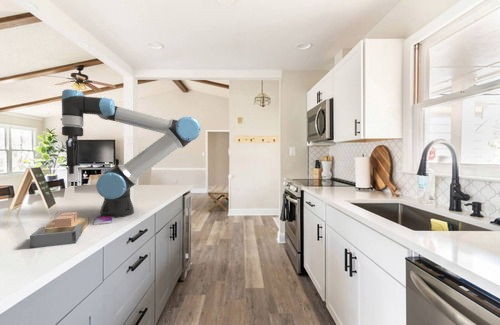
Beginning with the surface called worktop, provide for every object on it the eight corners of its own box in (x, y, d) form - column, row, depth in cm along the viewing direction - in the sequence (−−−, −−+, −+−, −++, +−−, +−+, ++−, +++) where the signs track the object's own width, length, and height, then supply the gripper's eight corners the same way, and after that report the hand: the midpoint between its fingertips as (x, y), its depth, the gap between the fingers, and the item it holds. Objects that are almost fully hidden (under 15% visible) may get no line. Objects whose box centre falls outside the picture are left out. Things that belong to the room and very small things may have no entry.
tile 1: (74, 222, 98) (74, 215, 98) (71, 225, 93) (71, 218, 93) (58, 224, 95) (58, 216, 95) (54, 227, 91) (54, 219, 91)
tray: (81, 233, 93) (81, 223, 93) (75, 243, 83) (75, 231, 83) (41, 237, 88) (41, 226, 88) (30, 248, 78) (29, 235, 78)
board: (87, 224, 106) (87, 217, 106) (81, 233, 94) (81, 225, 94) (53, 227, 101) (53, 219, 101) (41, 237, 89) (41, 229, 89)
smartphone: (92, 224, 105) (96, 216, 118) (92, 226, 105) (96, 218, 118) (111, 222, 108) (113, 214, 122) (111, 224, 108) (113, 216, 122)
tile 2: (77, 218, 103) (77, 211, 103) (74, 221, 99) (74, 214, 99) (62, 220, 101) (62, 212, 101) (59, 223, 97) (59, 215, 97)
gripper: (66, 128, 112) (66, 179, 113) (56, 124, 98) (57, 183, 98) (86, 129, 115) (86, 179, 116) (79, 125, 101) (79, 182, 101)
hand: (72, 180), depth 107 cm, fingers open, 3 cm apart
